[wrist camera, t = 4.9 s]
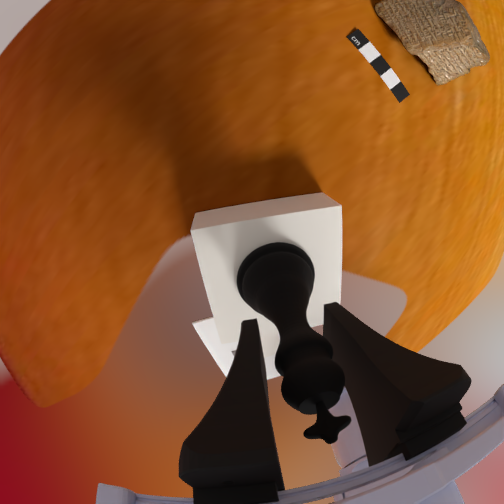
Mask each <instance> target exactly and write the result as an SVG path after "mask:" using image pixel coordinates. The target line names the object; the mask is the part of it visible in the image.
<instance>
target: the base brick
mask: <svg viewBox="0 0 504 504" xmlns="http://www.w3.org/2000/svg"><path fill="white" fill-rule="evenodd" d="M190 231H191V235H192V239H193V243H194V247H195V251H196V255H197V259H198V263H199V266H200V270H201V274H202V278H203V282H204V286H205V289H206V293H207V297H208V300H209V304H210V307H211V311H212V314H213V318H214V321H215V324H216V328H217V331H218V335H219V338H220V341H221V344H226V343H232V342H238V341H239V337H240V331H241V322H242V321H243V320H249V319H255V318H257V321H258V326H259V331H260V337H261V338H262V337H267V336H272V335H277V334H279V332H278V330H277V328H276V326H275V325H274V324H273V323H272V322H271V321H270V320H268V319H267V318H265V317H264V316H263V315H261V314H259V313H257V312H256V311H254V310H253V309H252V308H251V307H250V306H249V305H248V304H246V303H245V302H244V300H243V299H242V298H241V296H240V294H239V292H238V288H237V273H238V269H239V267H240V265H241V263H242V261H243V260H244V259H245V258H246V256H247V255H249V254H250V253H251V252H252V251H253V250H255V249H257V248H258V247H260V246H263V245H266V244H269V243H275V242H284V243H289V244H293V245H295V246H297V247H299V248H301V249H302V250H303V251H305V252H306V253H307V255H308V256H309V257H310V259H311V261H312V263H313V265H314V270H315V279H314V286H313V291H312V294H311V296H310V298H309V304H308V307H307V311H306V316H307V320H308V323H309V325H310V327H315V326H319V325H323V320H324V304H328V303H333V302H337V303H339V304H340V300H341V278H342V205H340V204H339V203H337V202H336V201H335V200H333V199H332V198H330V197H329V196H327V195H326V194H324V193H323V192H321V193H314V194H306V195H299V196H292V197H285V198H279V199H272V200H266V201H259V202H253V203H247V204H241V205H235V206H230V207H224V208H218V209H213V210H208V211H202V212H197V213H195V216H194V219H193V223H192V226H191V230H190Z"/></svg>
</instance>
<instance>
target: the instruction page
mask: <svg viewBox="0 0 504 504" xmlns="http://www.w3.org/2000/svg"><path fill="white" fill-rule="evenodd" d="M192 325H193V326H194V328H195V330H196V331H197V333H198V334H199V336H200V338H201V339H202V341H203V342H204V344H205V346H206V347H207V349H208V350H209V352H210V353H211V355H212V356H213V358H214V360H215V361H216V363H217V364H218V366H219V367H220V369H221V370H222V372H223V373H224V374H225V376H226V377H227V375H228V373H229V370H230V367H231V365H232V362H233V359H234V356H235V353H236V349H237V346H238V342H239V341H238V342H232V343H226V344H221V341H220V338H219V335H218V331H217V328H216V324H215V321H214V318H213V316H211V317H208V318H205V319H201V320H198V321H194V322H192ZM261 343H262V349H263V355H264V360H265V366H266V375H267V380H268V379H271V378H275V377H278V376H281V375H280V374H279V373H278V372H277V370H276V368H275V355H276V352H277V349H278V346H279V343H280V335H279V334H277V335H272V336H267V337H262V338H261Z"/></svg>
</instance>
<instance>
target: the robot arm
mask: <svg viewBox="0 0 504 504" xmlns="http://www.w3.org/2000/svg"><path fill="white" fill-rule="evenodd" d="M323 337H325V338H326V339H327V340H328V341H329V342H330V344H331V345H332V348H333V357H332V360H333V361H334V362H336V363H337V364H338V365H339V366H340V367H341V368H342V370H343V372H344V375H345V386H344V389H343V392H342V394H341V396H340V400H339V401H338V403H337V404H336V405H335V406H333V407H332V408H330V409H329V412H330V413H331V414H332V415H333V416H336V417H337V416H344V415H347V416H350V417H351V420H352V421H351V423H350V424H349V425H348V426H347V427H346V428H345V429H343V430H342V431H340V432H339V434H338V440H337V441H336V442H335V443H333V444H331V445H332V448H333V451H334V454H335V458H336V460H337V463H338V464H339V465H340V466H341V467H342V469H341V470H339V473H340V477H337V478H335V479H331V480H328V481H324V482H320V483H316V484H312V485H308V486H304V487H299V488H294V489H289V490H285V487H284V483H283V477H282V473H281V468H280V463H279V458H278V453H277V448H276V443H275V437H274V432H273V427H272V422H271V417H270V409H269V398H268V387H267V375H266V366H265V360H264V355H263V349H262V343H261V337H260V331H259V326H258V321H257V318H255V319H249V320H243V321H242V322H241V331H240V337H239V342H238V346H237V349H236V353H235V356H234V359H233V362H232V365H231V367H230V370H229V373H228V375H227V377H226V380H225V382H224V384H223V386H222V388H221V390H220V392H219V394H218V395H217V397H216V399H215V401H214V402H213V404H212V406H211V407H210V409H209V410H208V412H207V413H206V415H205V416H204V418H203V419H202V420H201V422H200V423H199V424H198V426H197V427H196V428H195V429H194V430H193V431H192V433H191V434H190V435H189V436H188V437H187V438H186V439H185V441H184V442H183V445H182V449H181V452H180V458H179V477H180V478H181V479H182V480H183V481H184V482H185V483H187V484H188V485H190V486H191V487H193V498H179V497H163V496H153V495H143V494H136V493H134V492H133V491H131V490H129V489H126V488H123V487H118V486H113V485H107V484H103V483H99V484H98V490H97V499H96V504H303V503H308V502H312V501H316V500H320V499H324V498H328V497H331V496H334V501H335V502H333V503H330V504H465V503H464V501H463V498H462V496H461V494H460V492H459V490H458V487H457V485H456V483H455V481H454V480H455V479H457V478H458V477H460V476H461V475H463V474H464V473H465V472H467V471H468V470H469V469H471V468H472V467H473V466H475V465H476V464H477V463H478V462H480V461H481V460H482V459H483V458H485V457H486V456H487V455H488V454H489V453H491V452H492V451H493V450H494V449H495V448H496V447H497V446H499V445H500V444H501V443H502V442H503V441H504V384H503V385H502V386H501V387H500V388H499V389H498V390H497V391H496V393H495V394H494V396H493V397H492V398H491V399H490V400H488V401H487V402H486V403H484V404H483V405H482V406H480V407H479V408H478V409H476V410H475V411H473V412H472V413H471V414H469V415H468V416H466V417H465V418H464V417H463V415H462V414H461V412H460V411H461V410H462V406H461V405H460V403H459V402H460V400H461V399H462V397H463V396H464V395H465V393H466V392H467V390H468V389H469V387H470V384H471V378H470V377H469V376H468V374H467V373H466V372H465V370H464V369H463V368H462V366H461V365H458V364H453V363H448V362H443V361H439V360H436V359H432V358H429V357H426V356H423V355H421V354H418V353H416V352H413V351H411V350H408V349H406V348H404V347H402V346H400V345H398V344H396V343H394V342H392V341H390V340H389V339H387V338H385V337H384V336H382V335H380V334H379V333H377V332H376V331H374V330H373V329H371V328H370V327H368V326H367V325H366V324H364V323H363V322H362V321H360V320H359V319H358V318H356V317H355V316H354V315H353V314H351V313H350V312H349V311H347V310H346V309H345V308H343V307H342V306H341V305H340V304H339V303H337V302H333V303H328V304H324V320H323Z"/></svg>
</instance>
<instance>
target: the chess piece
mask: <svg viewBox="0 0 504 504" xmlns="http://www.w3.org/2000/svg"><path fill="white" fill-rule="evenodd" d="M314 279H315V270H314V265H313V263H312V261H311V259H310V257H309V256H308V255H307V253H306V252H305V251H303V250H302V249H301V248H299V247H297V246H295V245H293V244H289V243H284V242H275V243H269V244H266V245H263V246H260V247H258V248H257V249H255V250H253V251H252V252H251V253H250V254H249V255H247V256H246V258H245V259H244V260H243V261H242V263H241V265H240V267H239V269H238V273H237V288H238V292H239V294H240V296H241V298H242V299H243V300H244V302H245V303H246V304H248V305H249V306H250V307H251V308H252V309H253V310H254V311H256V312H257V313H259V314H261V315H263V316H264V317H265V318H267V319H268V320H270V321H271V322H272V323H273V324H274V325H275V326H276V328H277V330H278V332H279V335H280V343H279V346H278V349H277V352H276V355H275V368H276V370H277V372H278V373H279V374H280V375H281V376H283V377H284V378H283V381H282V385H281V392H282V396H283V398H284V400H285V401H286V402H287V403H288V404H289V405H290V406H291V407H293V408H294V409H296V410H298V411H300V412H301V413H303V414H310V415H311V414H317V420H316V423H315V424H314V425H312V426H311V427H309V428H307V429H306V430H305V431H304V436H305V437H306V438H308V439H323V440H325V442H326V443H328V444H333V443H335V442H336V441H337V440H338V434H339V432H340V431H342V430H343V429H345V428H346V427H347V426H348V425H349V424H350V423H351V421H352V420H351V417H350V416H347V415H344V416H337V417H336V416H333V415H332V414H331V413H330V412H329V409H330V408H332V407H333V406H335V405H336V404H337V403H338V401H339V400H340V396H341V394H342V392H343V389H344V386H345V375H344V372H343V370H342V368H341V367H340V366H339V365H338V364H337V363H336V362H334V361H333V360H332V357H333V348H332V345H331V344H330V342H329V341H328V340H327V339H326V338H325V337H323V336H322V335H320V334H319V333H317V332H315V331H314V330H313V329H312V328H311V327H310V325H309V323H308V320H307V316H306V311H307V307H308V304H309V298H310V296H311V294H312V291H313V286H314Z"/></svg>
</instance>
